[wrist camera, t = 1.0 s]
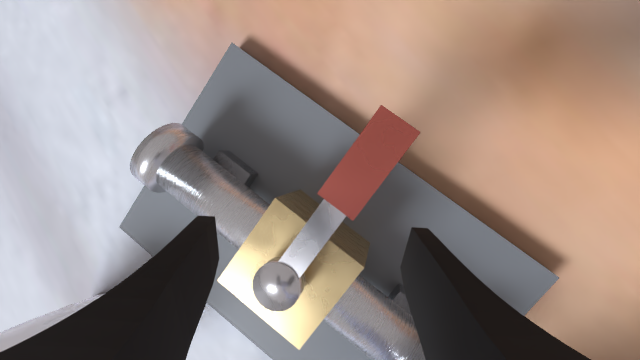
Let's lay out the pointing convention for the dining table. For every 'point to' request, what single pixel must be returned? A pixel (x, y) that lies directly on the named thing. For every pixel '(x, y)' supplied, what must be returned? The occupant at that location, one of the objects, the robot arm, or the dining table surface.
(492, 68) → the dining table surface
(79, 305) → the white cup
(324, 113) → the mounting board
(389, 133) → the valve lever
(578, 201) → the dining table surface
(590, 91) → the dining table surface
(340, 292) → the valve body
